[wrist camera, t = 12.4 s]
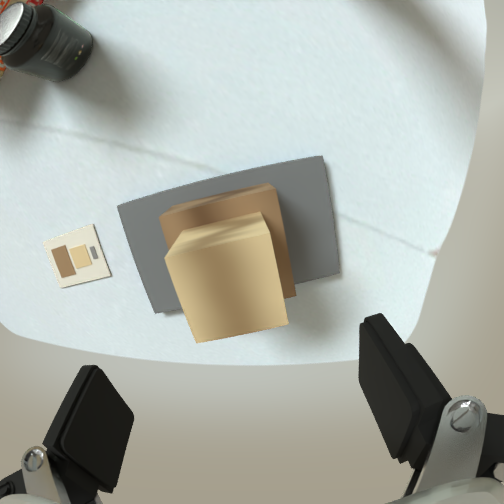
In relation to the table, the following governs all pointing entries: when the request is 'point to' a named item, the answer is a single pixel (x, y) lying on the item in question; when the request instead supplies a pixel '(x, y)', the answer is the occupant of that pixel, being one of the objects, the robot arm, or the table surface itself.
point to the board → (278, 175)
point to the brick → (231, 207)
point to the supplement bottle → (42, 42)
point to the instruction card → (76, 257)
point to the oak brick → (227, 278)
